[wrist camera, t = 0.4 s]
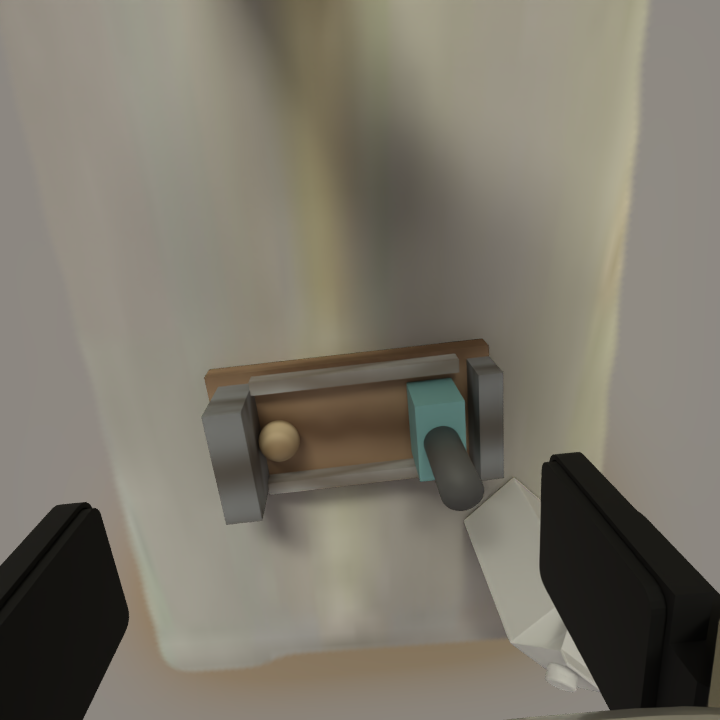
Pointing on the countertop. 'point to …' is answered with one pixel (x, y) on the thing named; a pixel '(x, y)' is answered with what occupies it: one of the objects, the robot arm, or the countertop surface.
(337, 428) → the base
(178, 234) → the countertop surface
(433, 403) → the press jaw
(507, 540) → the milk carton
